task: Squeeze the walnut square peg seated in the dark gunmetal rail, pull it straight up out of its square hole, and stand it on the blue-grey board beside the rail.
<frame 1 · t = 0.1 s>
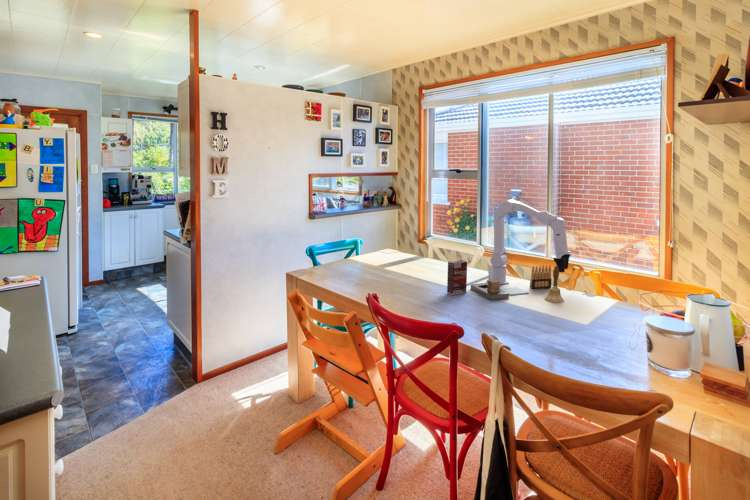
hand: (563, 270, 202), 11 cm above the table, tool pointing down, fingers open, 7 cm apart
blue-grey board: (513, 291, 206), on the table
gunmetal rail: (488, 293, 204), on the table
hand bell: (554, 300, 192), on the table
walnut peg: (493, 296, 200), resting in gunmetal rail
ammunition clip: (540, 288, 210), on the table
supplement box: (456, 293, 206), on the table
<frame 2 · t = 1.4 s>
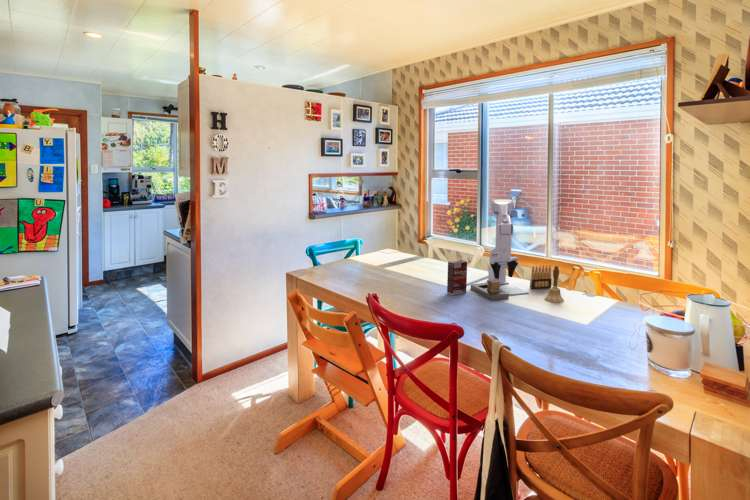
hand: (503, 277, 196), 10 cm above the table, tool pointing down, fingers open, 7 cm apart
nothing on the table moved.
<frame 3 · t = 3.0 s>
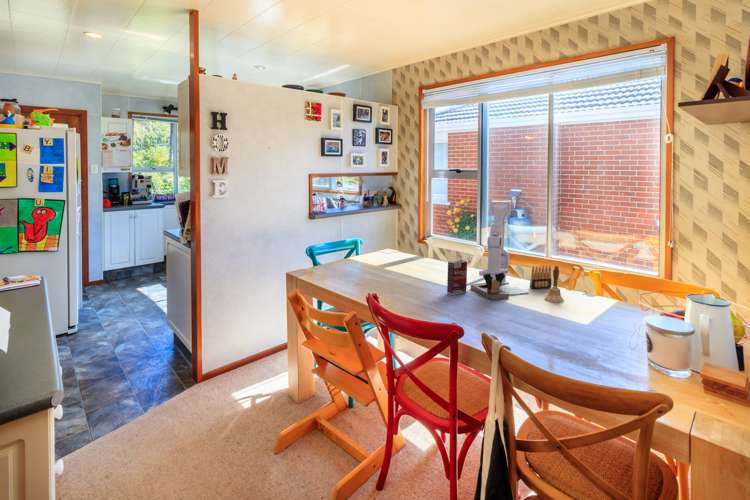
hand: (493, 289, 199), 3 cm above the table, tool pointing down, fingers closed on walnut peg, 4 cm apart
walnut peg: (493, 296, 200), resting in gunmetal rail, touching gripper
everything else where it was.
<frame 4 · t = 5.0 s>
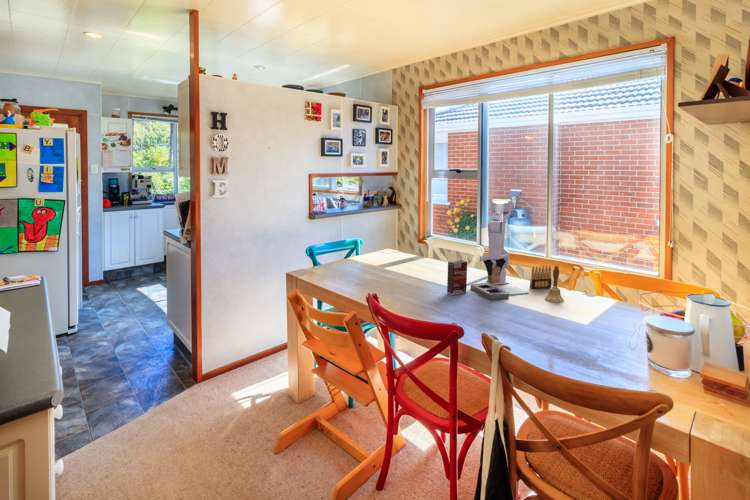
hand: (493, 274, 198), 10 cm above the table, tool pointing down, fingers closed on walnut peg, 4 cm apart
walnut peg: (493, 281, 198), point 7 cm above the table, touching gripper
everything else where it was.
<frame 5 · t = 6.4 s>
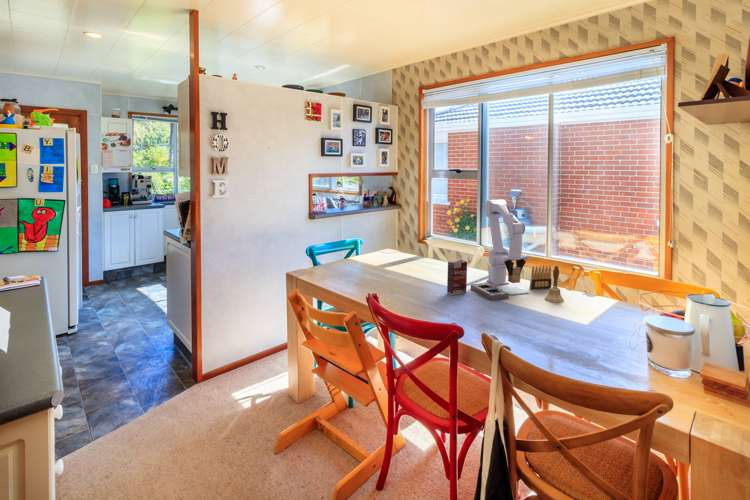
hand: (514, 274, 204), 9 cm above the table, tool pointing down, fingers closed on walnut peg, 4 cm apart
walnut peg: (513, 281, 205), point 5 cm above the table, touching gripper
everything else where it was.
when the fingers open (5 cm above the table, at t = 7.4 s): walnut peg stays where it is, resting on blue-grey board.
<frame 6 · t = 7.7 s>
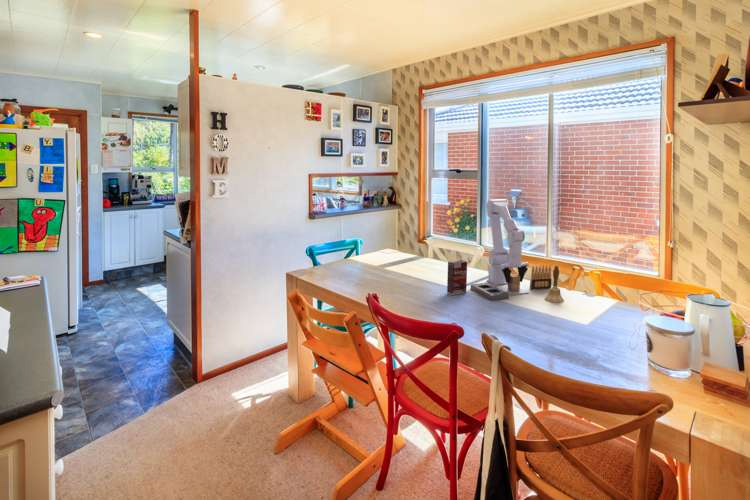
hand: (514, 282, 205), 5 cm above the table, tool pointing down, fingers open, 6 cm apart
walnut peg: (513, 290, 206), point 1 cm above the table, touching blue-grey board
everything else where it was.
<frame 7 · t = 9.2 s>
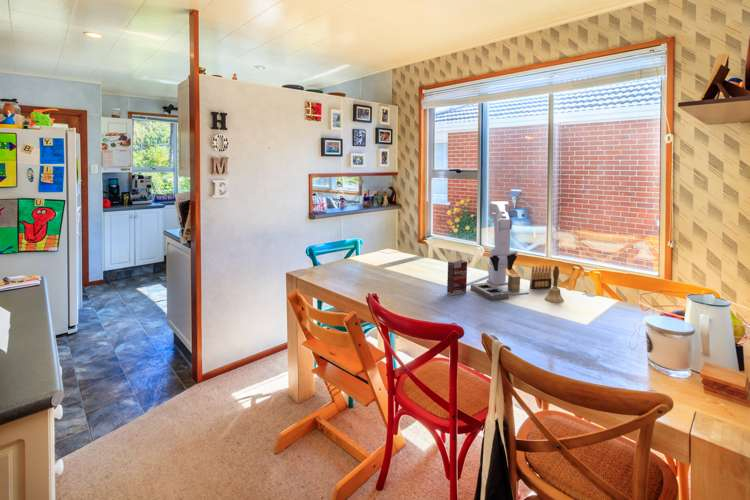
hand: (502, 270, 206), 10 cm above the table, tool pointing down, fingers open, 7 cm apart
nothing on the table moved.
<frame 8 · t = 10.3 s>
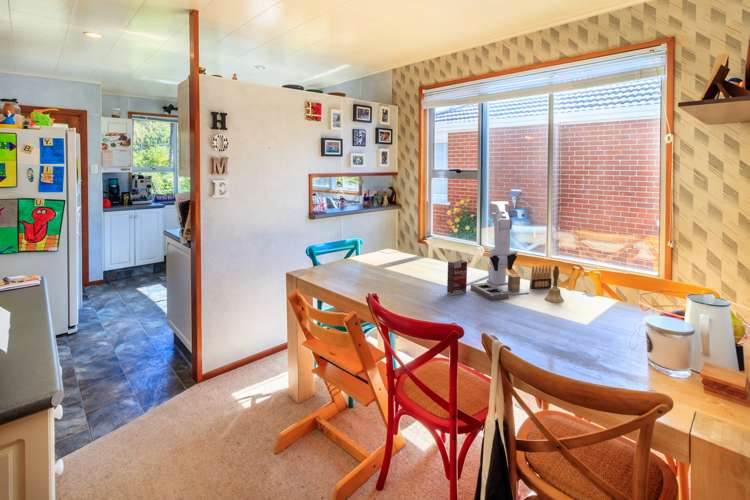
hand: (502, 270, 206), 10 cm above the table, tool pointing down, fingers open, 7 cm apart
nothing on the table moved.
at the end: walnut peg inside the target area on the blue-grey board (0.0 cm from its centre), point 0.6 cm above the blue-grey board's base; walnut peg tilted 0°; the gripper is holding nothing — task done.
